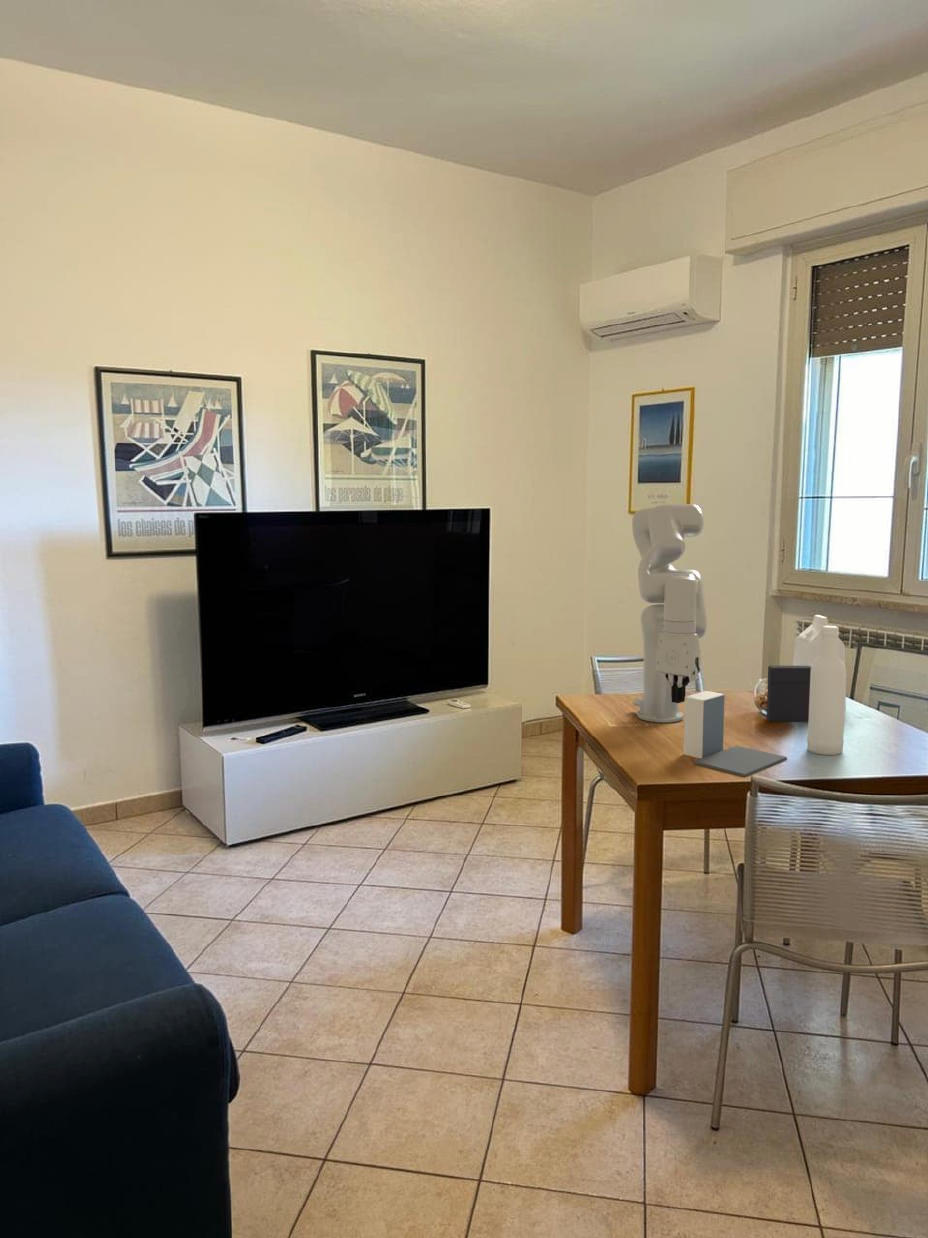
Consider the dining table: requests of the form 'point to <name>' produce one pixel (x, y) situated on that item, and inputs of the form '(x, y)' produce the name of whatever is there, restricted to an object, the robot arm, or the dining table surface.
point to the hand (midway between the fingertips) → (678, 701)
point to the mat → (740, 760)
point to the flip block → (704, 724)
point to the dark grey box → (788, 693)
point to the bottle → (827, 697)
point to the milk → (813, 644)
